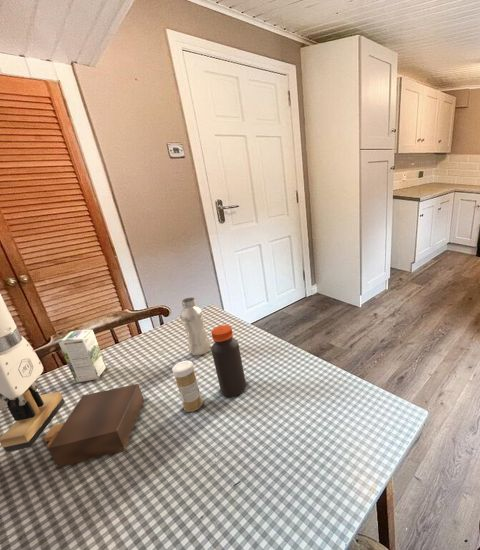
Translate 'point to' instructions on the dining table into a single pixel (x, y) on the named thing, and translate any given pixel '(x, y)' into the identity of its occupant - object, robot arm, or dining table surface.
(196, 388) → the sprinkles bottle
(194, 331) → the plastic bottle
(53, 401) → the brush
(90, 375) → the syrup box
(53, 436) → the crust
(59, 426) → the crust
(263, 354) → the dining table surface
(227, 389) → the vinegar
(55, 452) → the brown box
